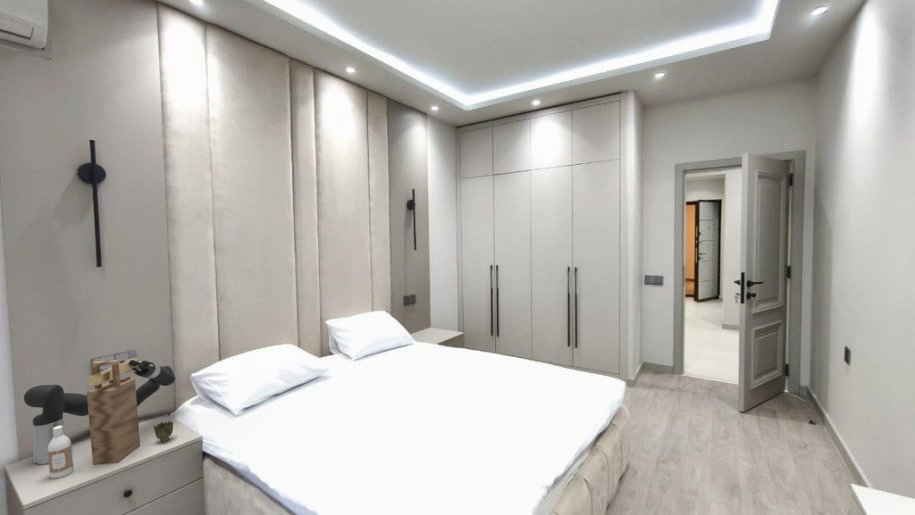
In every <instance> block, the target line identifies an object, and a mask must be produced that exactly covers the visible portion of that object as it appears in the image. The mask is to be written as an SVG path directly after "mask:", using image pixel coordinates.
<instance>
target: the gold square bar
mask: <svg viewBox="0 0 915 515" xmlns="http://www.w3.org/2000/svg"><path fill="white" fill-rule="evenodd" d="M130 360H134V361H139V362H140V357H132V358H128V359H127V360H123V361H124V362H122V363H120V362H119V373H120V375H122V374H124V373H127V372H128V371H131V370H130V369H132V368H134V367H135V366H132V365H130V364H129V363H130ZM112 379H113V376H112V366H110V367H108V368H106V369H104V370H102V371H101V372H99V373H97V374H95V375H90V376H88V377H87V380H88V386H94V385H99V384H101V383H102V384H103V383H106V382H108V381H109V380H112Z"/></svg>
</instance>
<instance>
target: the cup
mask: <svg viewBox="0 0 915 515" xmlns="http://www.w3.org/2000/svg"><path fill="white" fill-rule="evenodd" d="M153 429H154V433H155V434H154V435H155V437H156V439H158V440H159V441H160V443H165V442H168V441H169V440H170V437H171V436H172V434H173V431H174V422H173V421H171V420H168V421H165V422H163V421H161V422H160V423H157V424H156V426H155V425H154V426H153Z"/></svg>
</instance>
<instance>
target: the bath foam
mask: <svg viewBox="0 0 915 515" xmlns="http://www.w3.org/2000/svg"><path fill="white" fill-rule="evenodd" d="M53 436H54V437H53V439H52V440H51V442H50V443H49V445H48V461H49V463H48V469H49V472H48V473H49V477H50V479H54V480H55V479H60V478H64V477H66V476H68V475H70V474H72V473H73V472H74V459H73V447H72V446H73V445H72V441H71V439H70V438H69V437H68V436H67V435H65V433H64V434H63V426H57V427H54V428H53Z"/></svg>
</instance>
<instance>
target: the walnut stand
mask: <svg viewBox="0 0 915 515" xmlns="http://www.w3.org/2000/svg"><path fill="white" fill-rule="evenodd" d="M119 361H120V360H119V359H117V360H116V359H115V360H103V361H102V360H100V361H99V360H98V361H93V362H91V364H92V374H93V375H95V374H97V373H99V372H102V371H101V367H103V366H104V367H105V366H106V367H107V366H111V367H112V376H113V378H112V379H109V380H108V381H106V382H104V384H103V383H101V384H99V385H93V387H94V388H93V389H91V390H89V391H87V392H86V395H87V402H88V413H89V415H88V422H89V423H88V424H89V436H90V446H91V457H92V459H91V460H92V465H93V466H98V465H108V464H110V465H111V464H119V463H121V462H122V461H123V460H124V459H125V458H127V457H128V456H129V455H131V454H132V453H133V452H134V451H136V450H137V449H138V448H140V446H141V442H140V441H141V439H140V428H139V427H140V426H139V416H138V415H139V414H138V407H137V399H136V390H137V388H136V387H137V386H136V379H135V378H131V376H127V377H125V378H123V379H121V374H120V373H119V364H120V362H119ZM93 375H92V376H93Z"/></svg>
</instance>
